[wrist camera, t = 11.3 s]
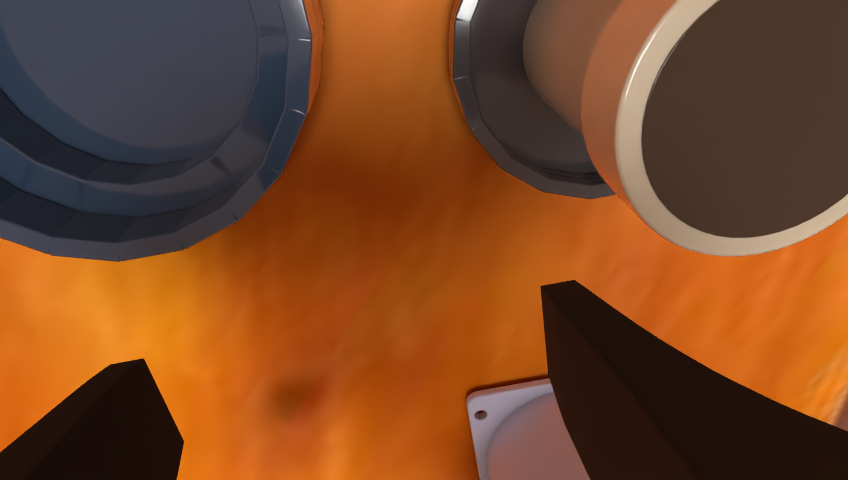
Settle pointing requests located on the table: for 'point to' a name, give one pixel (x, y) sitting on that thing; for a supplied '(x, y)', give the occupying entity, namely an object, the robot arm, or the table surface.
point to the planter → (147, 118)
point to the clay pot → (705, 111)
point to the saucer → (514, 101)
